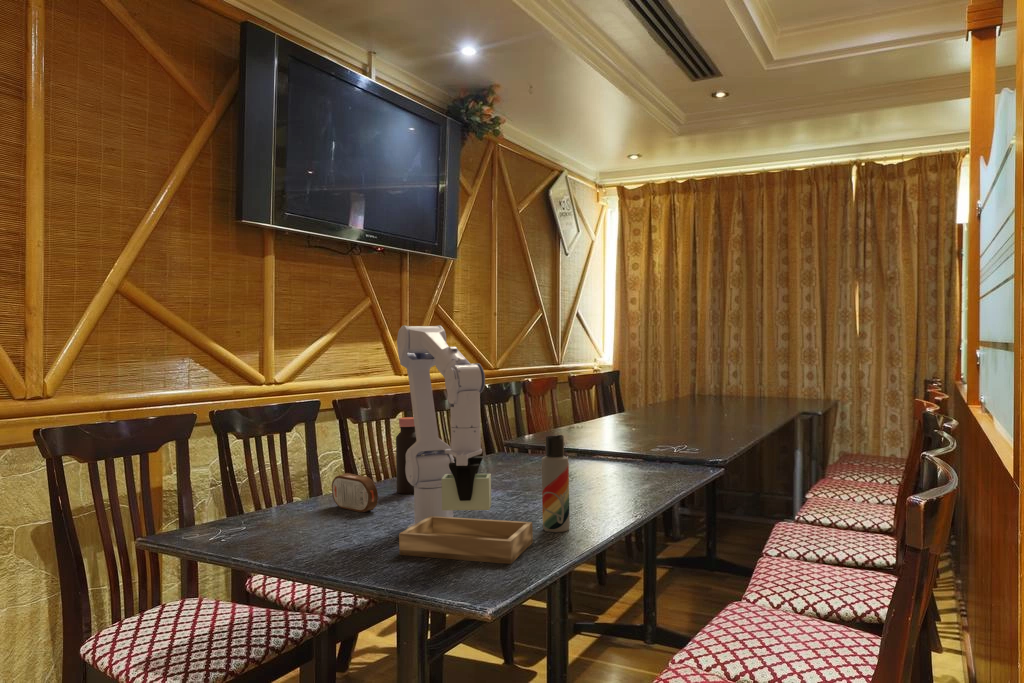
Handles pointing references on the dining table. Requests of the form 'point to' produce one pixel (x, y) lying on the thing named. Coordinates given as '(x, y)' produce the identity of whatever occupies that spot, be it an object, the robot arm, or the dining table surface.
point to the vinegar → (404, 453)
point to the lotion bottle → (555, 486)
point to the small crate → (479, 494)
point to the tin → (354, 492)
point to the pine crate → (467, 539)
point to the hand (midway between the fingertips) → (466, 497)
